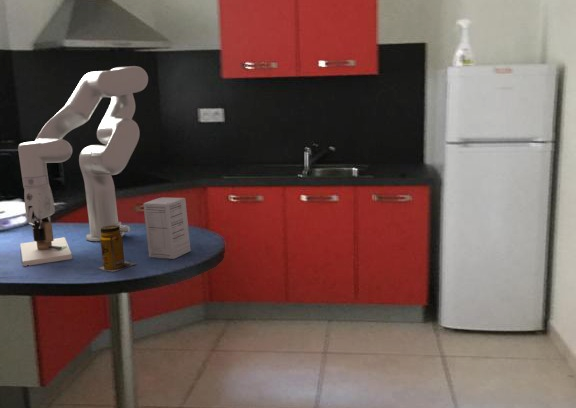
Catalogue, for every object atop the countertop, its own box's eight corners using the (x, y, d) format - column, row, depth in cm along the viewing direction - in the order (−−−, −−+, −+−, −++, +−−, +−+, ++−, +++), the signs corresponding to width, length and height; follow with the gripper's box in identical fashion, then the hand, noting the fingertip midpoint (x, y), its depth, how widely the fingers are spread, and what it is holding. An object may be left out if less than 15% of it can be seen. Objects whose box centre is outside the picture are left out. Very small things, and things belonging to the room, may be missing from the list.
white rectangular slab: (20, 247, 219) (20, 242, 219) (65, 241, 224) (64, 236, 224) (23, 266, 197) (22, 260, 197) (72, 258, 202) (71, 253, 202)
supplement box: (191, 251, 204) (187, 197, 200) (174, 259, 196) (168, 204, 192) (166, 249, 208) (161, 196, 204) (147, 257, 200) (142, 202, 196)
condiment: (97, 268, 191) (92, 228, 189) (121, 261, 197) (117, 221, 195) (112, 272, 186) (107, 231, 184) (137, 264, 193) (132, 224, 190)
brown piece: (32, 248, 210) (29, 223, 208) (43, 245, 214) (39, 220, 212) (55, 251, 205) (51, 225, 204) (65, 247, 209) (62, 222, 207)
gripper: (33, 186, 197) (41, 245, 201) (59, 176, 213) (66, 231, 217) (10, 187, 198) (18, 246, 202) (37, 177, 214) (45, 232, 218)
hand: (43, 238), depth 210 cm, fingers open, 3 cm apart
